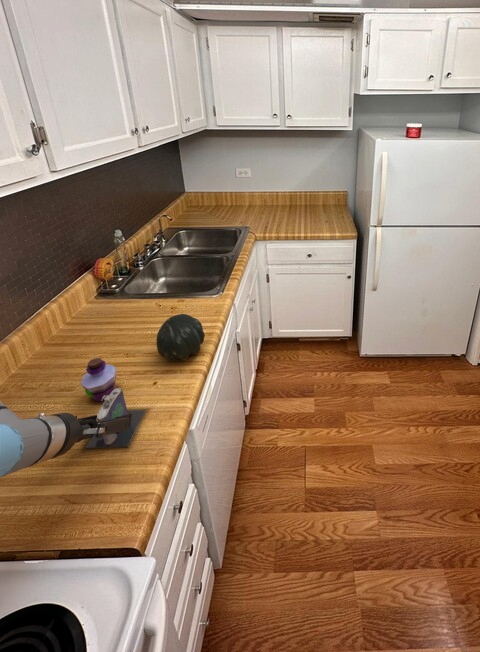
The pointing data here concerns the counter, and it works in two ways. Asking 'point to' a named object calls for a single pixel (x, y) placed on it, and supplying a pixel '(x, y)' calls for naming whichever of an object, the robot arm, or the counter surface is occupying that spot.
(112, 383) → the potion bottle
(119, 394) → the flask
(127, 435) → the slate coaster
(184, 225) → the counter surface
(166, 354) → the squash
